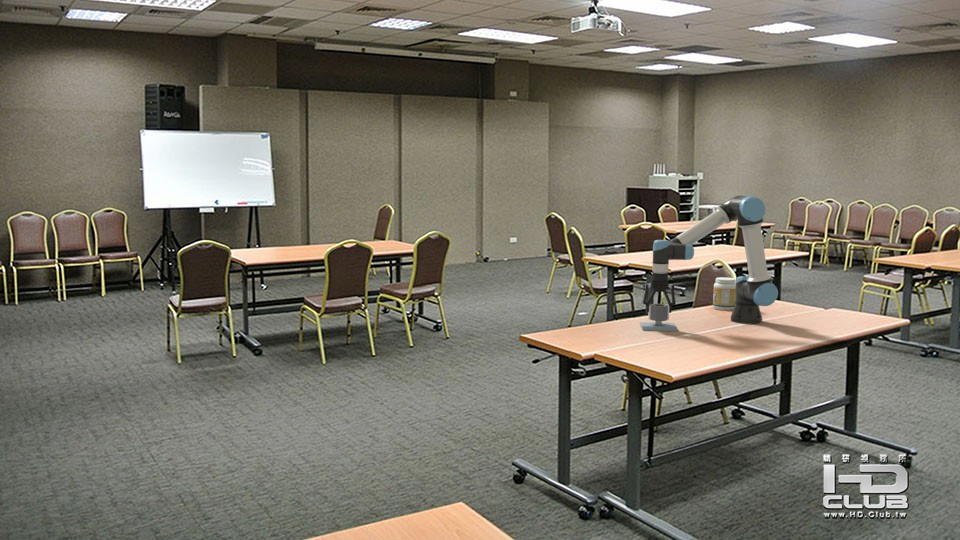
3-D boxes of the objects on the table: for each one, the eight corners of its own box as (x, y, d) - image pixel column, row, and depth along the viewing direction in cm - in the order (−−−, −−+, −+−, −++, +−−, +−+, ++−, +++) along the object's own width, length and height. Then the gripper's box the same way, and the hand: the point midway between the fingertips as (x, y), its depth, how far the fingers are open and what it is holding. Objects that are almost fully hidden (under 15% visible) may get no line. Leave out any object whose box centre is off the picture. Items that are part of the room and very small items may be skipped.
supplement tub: (710, 306, 447) (712, 276, 445) (733, 307, 446) (734, 277, 444) (715, 310, 435) (716, 279, 433) (737, 310, 434) (739, 280, 432)
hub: (665, 318, 387) (666, 304, 386) (667, 321, 379) (668, 306, 378) (649, 317, 388) (649, 303, 387) (650, 320, 380) (651, 306, 379)
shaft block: (673, 327, 388) (674, 306, 387) (676, 331, 378) (677, 310, 377) (640, 326, 390) (641, 306, 389) (642, 330, 380) (643, 309, 379)
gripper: (681, 271, 383) (679, 318, 386) (637, 270, 386) (635, 317, 388) (683, 273, 376) (681, 321, 379) (638, 272, 378) (637, 319, 381)
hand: (658, 319), depth 384 cm, fingers closed on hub, 8 cm apart
